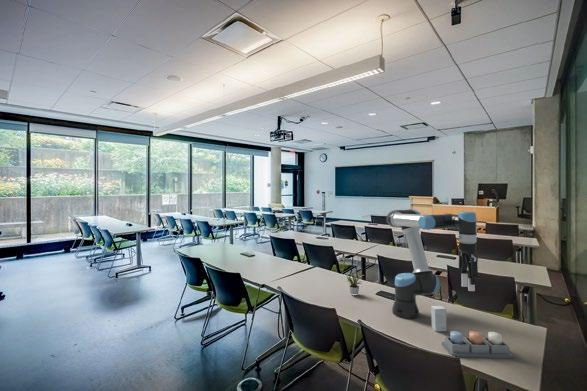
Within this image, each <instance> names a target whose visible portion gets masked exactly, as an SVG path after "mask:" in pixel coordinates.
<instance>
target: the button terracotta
mask: <svg viewBox="0 0 587 391" xmlns="http://www.w3.org/2000/svg"><path fill="white" fill-rule="evenodd" d="M468 337H469V341H470V342H471V343H473V344H477V345H481V344H483V334H482V333H481V332H478V331H473V330H472V331H471V330H470V331H468Z"/></svg>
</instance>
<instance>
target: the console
mask: <svg viewBox="0 0 587 391" xmlns="http://www.w3.org/2000/svg"><path fill="white" fill-rule="evenodd" d="M441 346H442V347H443V348H444V349H445V350H446V351H447V352H448V354H449V355H450V356H451V355H452V356H458V358H459V357H462V358H492V359H493V358H496V359H497V358H499V359H501V358H502V359H505V358H506V359H513V358H514V355H513V354H512V353H511V352H510V346H509V345H508V344H507V343H506V342H504V340H502V345H495V344H492V343H490V342H489V341H488V336H486V337H485V336H484V337H483V344H481V345H477V344H473V343H471V342H470V341H469V336H463V344H455V343H453V342H451V341H450V336H444V341H441ZM452 356H451V357H452Z"/></svg>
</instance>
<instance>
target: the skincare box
mask: <svg viewBox="0 0 587 391" xmlns="http://www.w3.org/2000/svg"><path fill="white" fill-rule="evenodd" d="M430 311H431V329H432V330H433V331H434V332H447V308H446V307H444V306H443V305H430Z"/></svg>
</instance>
